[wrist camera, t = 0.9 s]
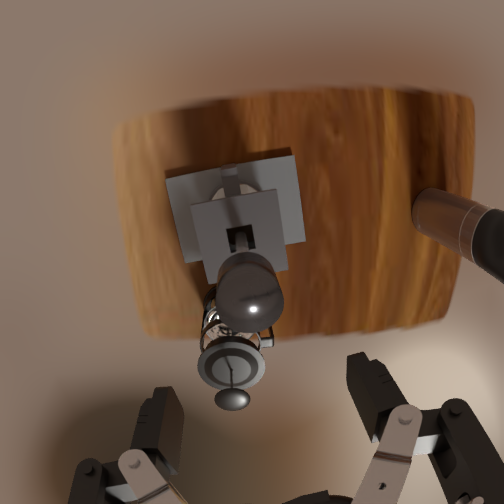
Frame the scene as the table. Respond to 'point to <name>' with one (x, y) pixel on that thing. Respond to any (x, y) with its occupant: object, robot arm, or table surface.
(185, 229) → the slate board
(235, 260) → the plunger
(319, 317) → the table surface
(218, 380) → the french press
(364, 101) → the table surface
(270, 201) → the carafe
